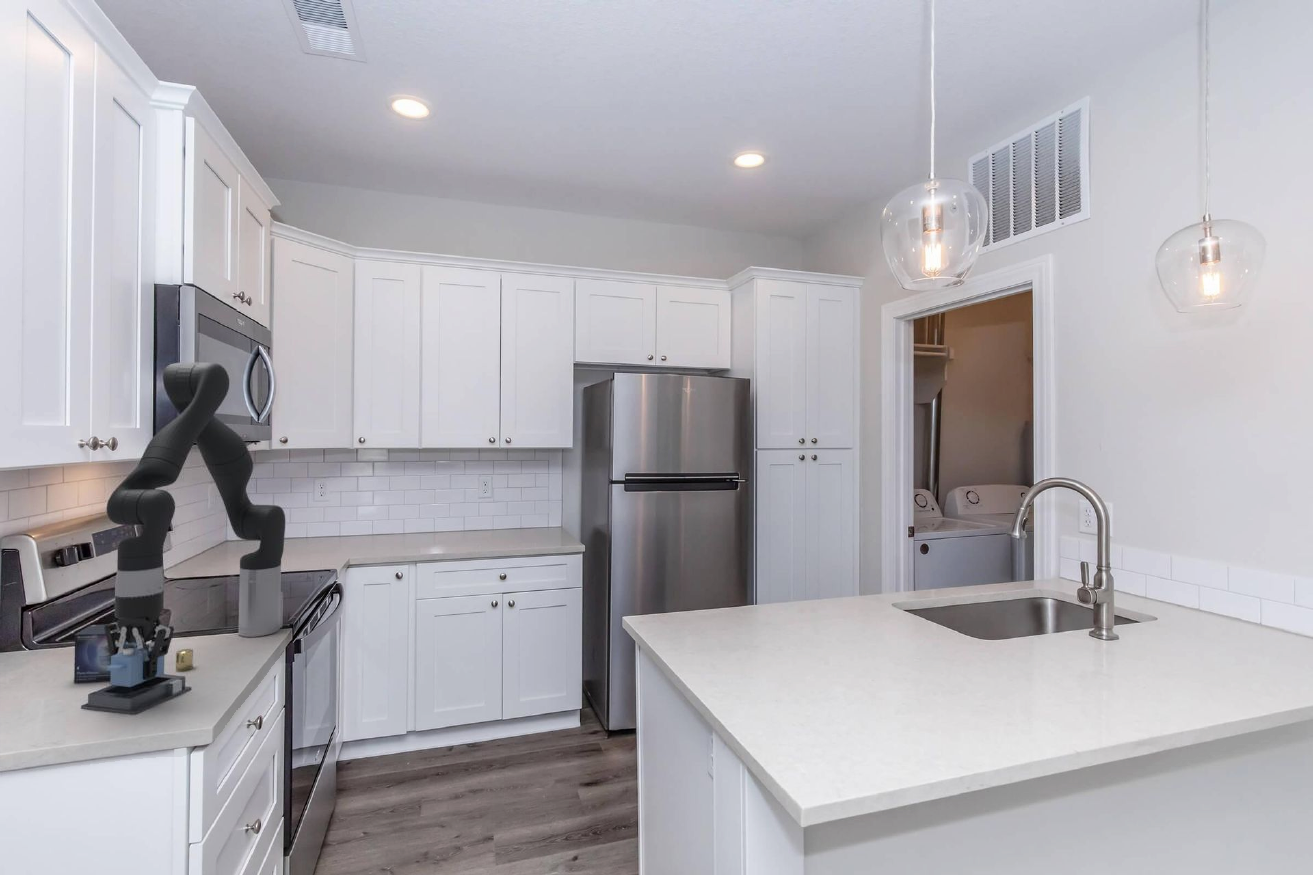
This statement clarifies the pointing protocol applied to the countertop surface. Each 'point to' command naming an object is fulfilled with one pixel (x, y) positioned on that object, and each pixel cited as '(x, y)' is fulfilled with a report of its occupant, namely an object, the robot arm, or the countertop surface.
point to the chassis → (137, 695)
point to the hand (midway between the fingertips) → (138, 676)
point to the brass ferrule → (184, 660)
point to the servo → (130, 667)
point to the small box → (92, 655)
